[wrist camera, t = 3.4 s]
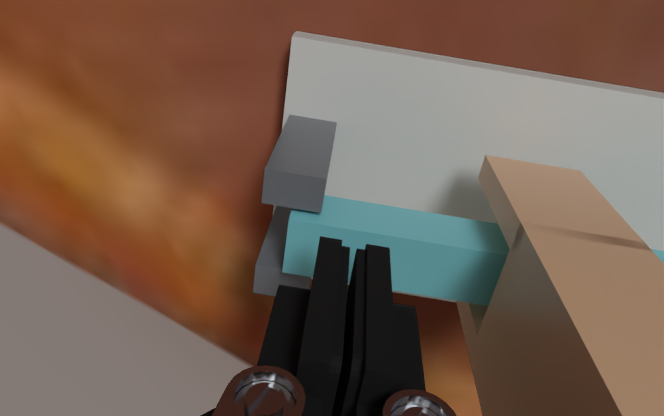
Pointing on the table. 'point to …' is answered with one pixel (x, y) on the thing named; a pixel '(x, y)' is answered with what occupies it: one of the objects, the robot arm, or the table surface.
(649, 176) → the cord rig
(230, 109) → the table surface
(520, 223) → the tan slotted box
